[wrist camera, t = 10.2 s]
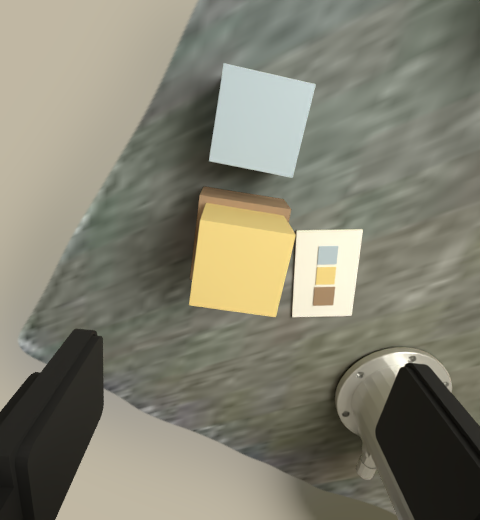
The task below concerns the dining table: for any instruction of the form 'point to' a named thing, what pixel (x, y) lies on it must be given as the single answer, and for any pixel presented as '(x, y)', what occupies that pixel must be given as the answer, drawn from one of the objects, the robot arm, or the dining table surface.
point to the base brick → (237, 206)
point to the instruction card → (325, 272)
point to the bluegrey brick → (260, 120)
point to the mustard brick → (241, 260)
